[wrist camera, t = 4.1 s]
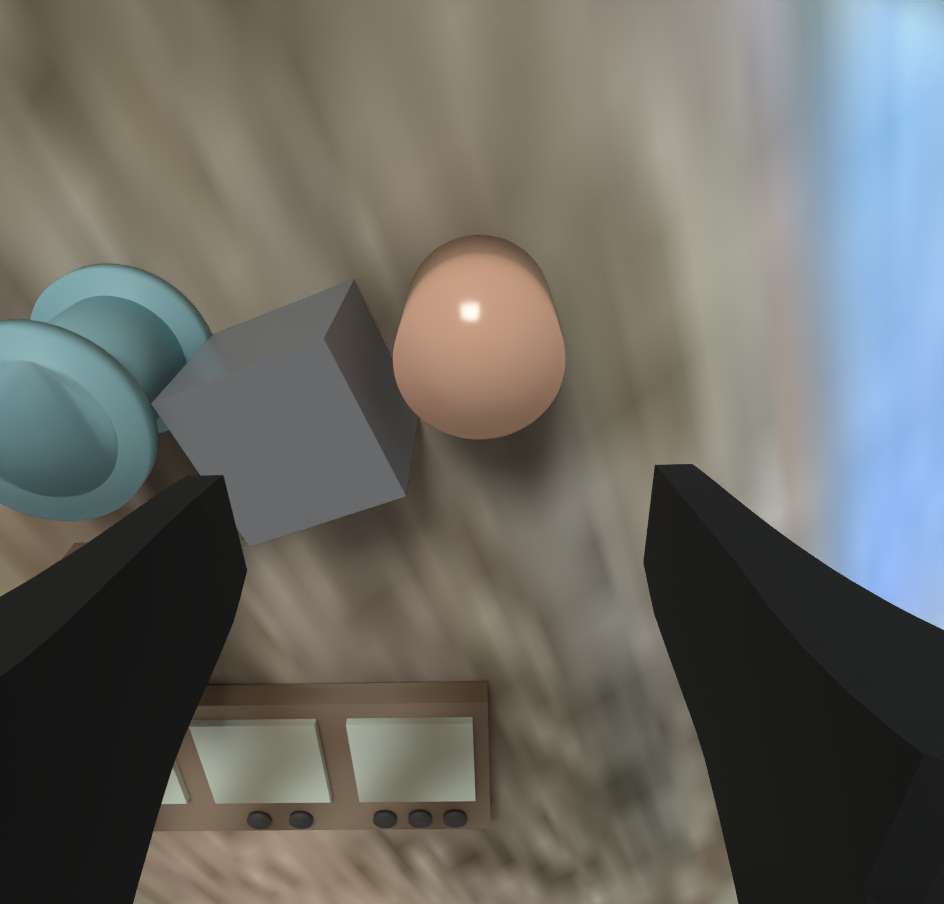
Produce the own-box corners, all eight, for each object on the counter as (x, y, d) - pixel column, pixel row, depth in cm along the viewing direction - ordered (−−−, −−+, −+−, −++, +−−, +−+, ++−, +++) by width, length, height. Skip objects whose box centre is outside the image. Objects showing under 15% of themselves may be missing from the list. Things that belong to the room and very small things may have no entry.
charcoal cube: (289, 458, 22) (249, 547, 19) (213, 333, 20) (151, 403, 16) (419, 413, 22) (406, 496, 18) (354, 278, 19) (323, 338, 16)
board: (90, 810, 32) (76, 838, 31) (29, 687, 28) (10, 714, 27) (490, 806, 31) (490, 835, 30) (487, 681, 27) (488, 709, 26)
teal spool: (73, 427, 22) (-27, 523, 17) (14, 266, 19) (-120, 332, 15) (233, 423, 22) (171, 518, 17) (195, 260, 19) (113, 325, 15)
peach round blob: (412, 374, 21) (399, 441, 17) (402, 236, 19) (385, 281, 15) (548, 371, 21) (562, 437, 17) (552, 232, 19) (569, 277, 15)
